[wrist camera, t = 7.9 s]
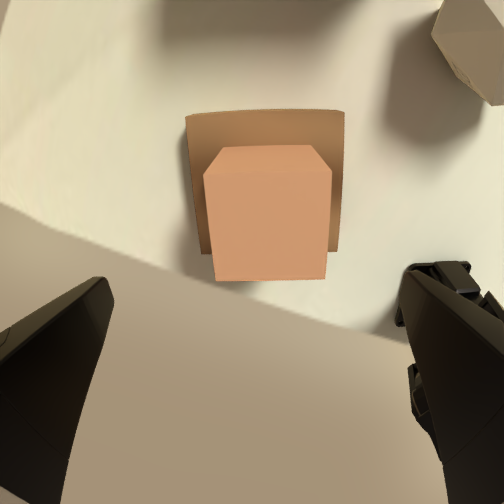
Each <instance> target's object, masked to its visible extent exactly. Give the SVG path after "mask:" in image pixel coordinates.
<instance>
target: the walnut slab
mask: <svg viewBox="0 0 504 504" xmlns="http://www.w3.org/2000/svg"><path fill="white" fill-rule="evenodd" d="M185 119H186V130H187V141H188V151H189V160H190V169H191V178H192V187H193V195H194V203H195V211H196V219H197V226H198V234H199V241H200V248H201V254H212V248H211V240H210V232H209V224H208V215H207V206H206V197H205V188H204V178H203V174H204V173H205V171H206V170H207V169H208V167H209V166H210V165H211V163H212V162H213V160H214V159H215V158H216V156H217V155H218V154H219V152H220V151H221V150H222V148H223V147H239V146H266V145H311V146H312V147H313V148H314V149H315V151H316V152H317V153H318V154H319V155H320V157H321V158H322V159H323V160H324V162H325V163H326V164H327V166H328V167H329V168H330V169H331V171H332V187H331V207H330V224H329V238H328V251H327V252H337V249H338V238H339V226H340V214H341V199H342V182H343V160H344V112H342V111H338V110H321V109H263V110H240V111H224V112H212V113H201V114H192V115H189V116H186V117H185Z"/></svg>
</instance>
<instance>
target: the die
mask: <svg viewBox="0 0 504 504" xmlns="http://www.w3.org/2000/svg"><path fill="white" fill-rule="evenodd" d="M431 36H432V38H433V39H434V41H435V42H436V44H437V46H438V47H439V49H440V50H441V52H442V53H443V55H444V57H445V58H446V60H447V62H448V63H449V65H450V67H451V68H452V70H453V72H454V74H455V75H456V77H457V78H459V79H460V80H461V81H462V82H464V83H465V84H466V85H467V86H469V87H470V88H471V89H472V90H474V91H475V92H476V93H477V94H478V95H479V96H481V97H482V98H483V99H484V100H485V101H486V102H487V103H489V104H490V105H491V106H499V105H504V0H444V1H443V3H442V5H441V7H440V9H439V12H438V15H437V18H436V21H435V24H434V27H433V30H432V33H431Z"/></svg>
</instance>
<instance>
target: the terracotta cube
mask: <svg viewBox="0 0 504 504" xmlns="http://www.w3.org/2000/svg"><path fill="white" fill-rule="evenodd" d="M203 178H204V188H205V197H206V206H207V215H208V224H209V232H210V240H211V248H212V256H213V264H214V271H215V279H216V281H273V280H315V279H325V274H326V263H327V251H328V238H329V224H330V207H331V187H332V171H331V169H330V168H329V167H328V166H327V164H326V163H325V162H324V160H323V159H322V158H321V157H320V155H319V154H318V153H317V152H316V151H315V149H314V148H313V147H312V146H311V145H266V146H239V147H223V148H222V150H221V151H220V152H219V154H218V155H217V156H216V158H215V159H214V160H213V162H212V163H211V165H210V166H209V167H208V169H207V170H206V171H205V173H204V174H203Z"/></svg>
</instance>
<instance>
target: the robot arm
mask: <svg viewBox="0 0 504 504" xmlns="http://www.w3.org/2000/svg"><path fill="white" fill-rule="evenodd" d="M466 266H467V267H466ZM465 267H466V268H465ZM415 269H416V270H415ZM414 270H415V271H414ZM470 270H471V265H470V263H469V262H467V261H461V262H458V261H439V262H434V263H415V264H412V265H411V266H410V267H409V270H408V271H407V272H406V273H405V274H404V278H403V282H402V286H401V289H400V293H399V302H400V304H399V308H398V311H397V315H396V318H395V324H396V326H397V327H403V326H406V330H407V335H408V339H409V343H410V346H411V349H412V352H413V355H414V358H415V362H416V363H415V364H412V365H410V366H409V367H408V377H409V386H410V398H411V408H412V413H413V415H414V416H415V418H416V421H417V422H418V423H419V424H420V425H421V427H422V428H423V429H424V430H425V431H426V432H428V434H429V435H430V437H431V439H432V442H433V444H434V446H435V449H436V451H437V454H438V457H439V459H440V461H441V462H442V465H443V472H444V477H445V483H446V489H447V496H448V503H449V504H504V308H503V307H502V306H501V305H500V303H499V302H498V301H497V300H496V299H495V297H494V296H493V295H492V294H491V293H490V291H488V292H487V293H486V294H485V295H484V298H483V297H482V295H481V294H480V291H481V289H480V287H479V285H478V284H477V283H476V282H475V281H474V279H473V278H472V277H471V276H470V274H469V273H470ZM113 307H114V298H113V295H112V292H111V289H110V286H109V283H108V280H107V279H106V278H105V277H92V278H90V279H89V280H87V281H85V282H84V283H82V284H80V285H78V286H77V287H75V288H73V289H71V290H70V291H68V292H66V293H65V294H63V295H61V296H59V297H58V298H56V299H54V300H52V301H51V302H49V303H48V304H46V305H44V306H43V307H41V308H39V309H38V310H36V311H34V312H33V313H31V314H29V315H28V316H26V317H25V318H23V319H21V320H20V321H18V322H17V323H15V324H14V325H12V326H11V327H9V328H7V329H5V330H4V331H2V332H1V333H0V504H27V503H29V504H60V501H61V496H62V491H63V486H64V481H65V476H66V471H67V466H68V462H69V460H68V459H69V457H70V453H71V449H72V445H73V441H74V437H75V433H76V430H77V426H78V423H79V419H80V416H81V412H82V408H83V405H84V402H85V399H86V395H87V392H88V389H89V386H90V383H91V380H92V377H93V374H94V371H95V368H96V365H97V362H98V359H99V356H100V353H101V350H102V347H103V344H104V341H105V337H106V333H107V329H108V325H109V321H110V318H111V314H112V311H113Z"/></svg>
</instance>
